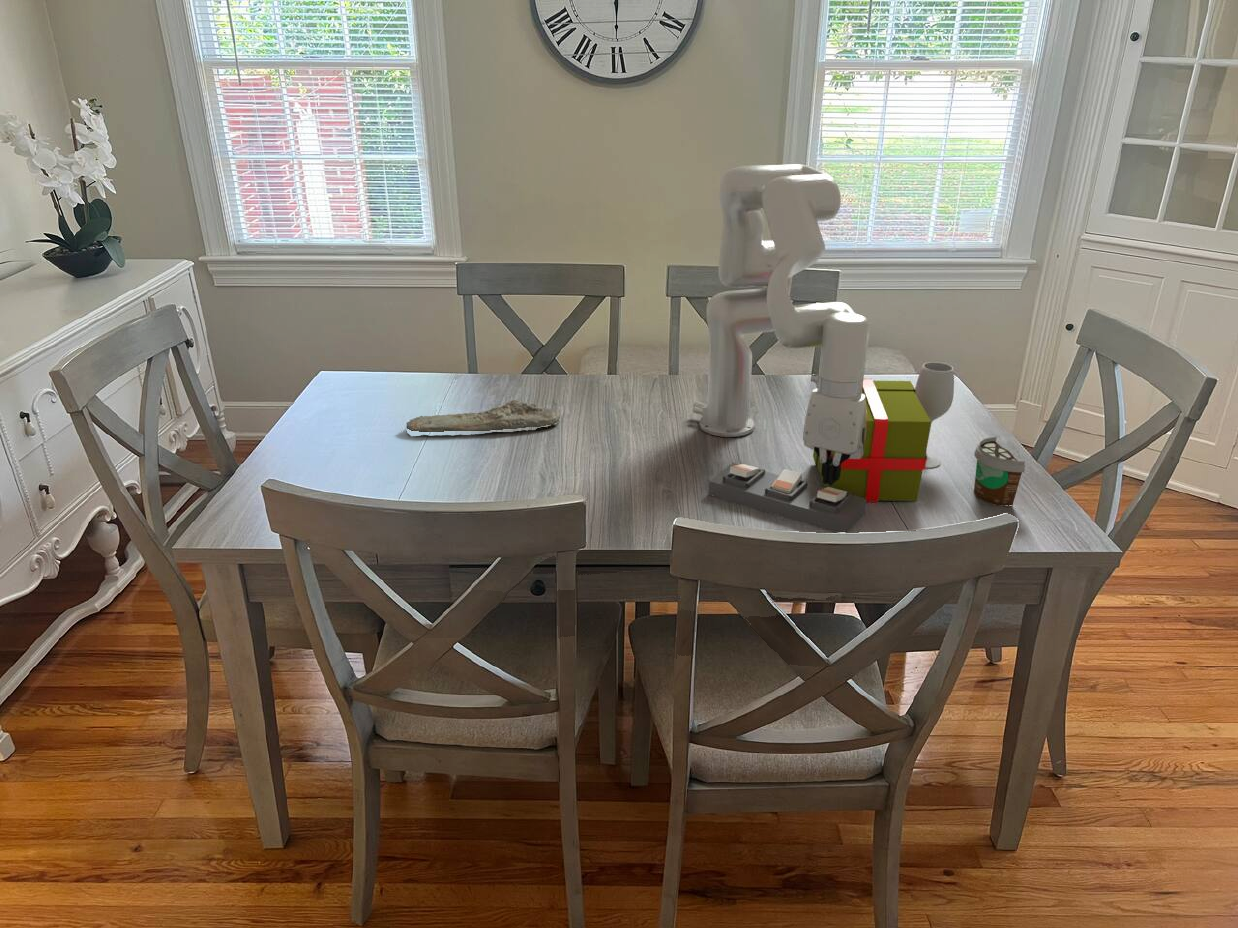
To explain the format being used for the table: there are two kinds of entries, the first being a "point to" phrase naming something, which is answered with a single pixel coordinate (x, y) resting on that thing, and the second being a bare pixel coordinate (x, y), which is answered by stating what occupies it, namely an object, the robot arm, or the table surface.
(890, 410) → the gift box
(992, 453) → the food container
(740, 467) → the rocker
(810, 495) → the power strip
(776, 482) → the rocker
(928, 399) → the wineglass
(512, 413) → the elongated rock
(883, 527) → the table surface
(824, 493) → the rocker
